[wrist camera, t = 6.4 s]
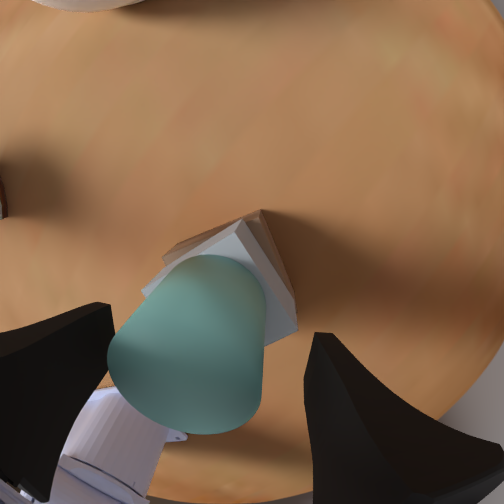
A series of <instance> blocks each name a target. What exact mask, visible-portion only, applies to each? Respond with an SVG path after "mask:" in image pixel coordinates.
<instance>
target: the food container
mask: <svg viewBox="0 0 504 504" xmlns="http://www.w3.org/2000/svg"><path fill="white" fill-rule="evenodd" d="M7 217H8V214H7V202H6V196H5V190H4V186H3V183H2V180H1V177H0V220H1V219H4V218H7Z"/></svg>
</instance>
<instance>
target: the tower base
mask: <svg viewBox="0 0 504 504" xmlns="http://www.w3.org/2000/svg"><path fill="white" fill-rule="evenodd" d="M242 218H243V220H244V221H245V223H246V225H247V226H248V228H249V229H250V231H251V232H252V234H253V236H254V237H255V239H256V240H257V242H258V244H259V245H260V247H261V248H262V250H263V251H264V253H265V255H266V256H267V258H268V259H269V261H270V262H271V264H272V266H273V267H274V269H275V270H276V272H277V274H278V275H279V277H280V278H281V280H282V282H283V283H284V285H285V286H286V288H287V290H288V291H289V293H290V294H291V296H292V298H293V299H294V303H295V310H296V313H297V307H296V300H295V294H294V290H293V288H292V285H291V282H290V280H289V277H288V275H287V272H286V270H285V267H284V265H283V262H282V260H281V257H280V255H279V252H278V250H277V247H276V245H275V242H274V240H273V238H272V235H271V233H270V230H269V228H268V225H267V223H266V220H265V218H264V216H263V213H262V211H261V209H260V210H257V211H255V212H252V213H250V214H247V215H245V216H243V217H240V218H238V219H235V220H233V221H230V222H228V223H225V224H223V225H220V226H218V227H216V228H213V229H211V230H208V231H206V232H204V233H201V234H199V235H197V236H194V237H192V238H189V239H187V240H185V241H182V242H180V243H178V244H176V245H175V246H174V247H173V248H172V249H171V250H169V251H168V252H167V253H166V254H165V255H164V256H162V259H163V261H164V263H165V265H166V266H167V265H169V264H171V263H172V262H174V261H175V260H177V259H178V258H180V257H181V256H183V255H185V254H186V253H188V252H189V251H191V250H192V249H194V248H196V247H197V246H199V245H200V244H202V243H203V242H205V241H207V240H208V239H210V238H211V237H213V236H215V235H216V234H218V233H219V232H221V231H223V230H224V229H226V228H227V227H229V226H231V225H232V224H234V223H236V222H237V221H239V220H240V219H242Z"/></svg>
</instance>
